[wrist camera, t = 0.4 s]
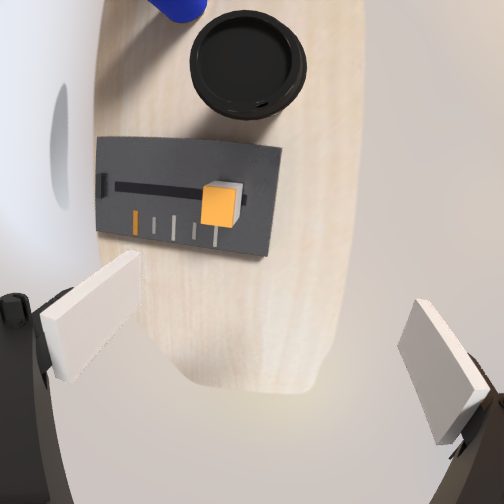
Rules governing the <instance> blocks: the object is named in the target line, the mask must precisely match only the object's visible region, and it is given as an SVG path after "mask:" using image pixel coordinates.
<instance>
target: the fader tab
mask: <svg viewBox="0 0 504 504" xmlns="http://www.w3.org/2000/svg"><path fill="white" fill-rule="evenodd" d="M242 188H243V184H241V183H233V182H224V181H213V182H211V183H209V184H207V185H205V186H203V199H202V213H201V224H207V225H214V226H221V227H229V228H232V227H233V225H234V224H235V222H236V221H237V220H238V218H239V217H240V207H241V198H242Z"/></svg>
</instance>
